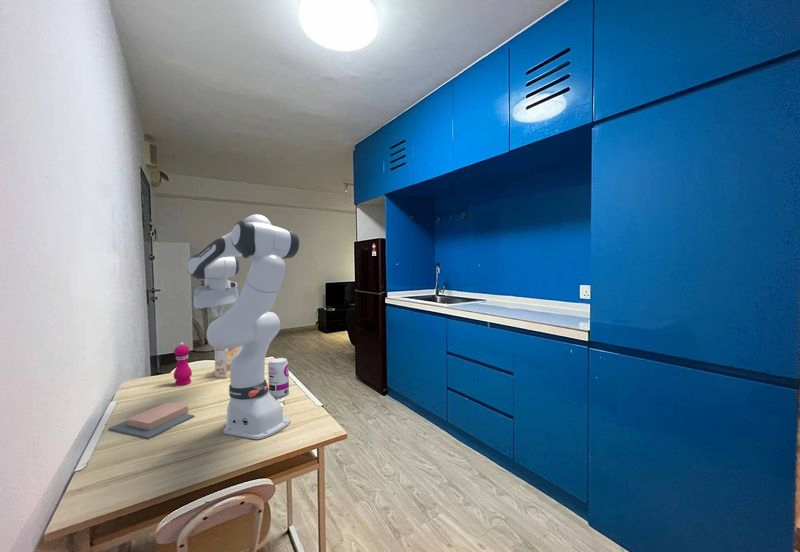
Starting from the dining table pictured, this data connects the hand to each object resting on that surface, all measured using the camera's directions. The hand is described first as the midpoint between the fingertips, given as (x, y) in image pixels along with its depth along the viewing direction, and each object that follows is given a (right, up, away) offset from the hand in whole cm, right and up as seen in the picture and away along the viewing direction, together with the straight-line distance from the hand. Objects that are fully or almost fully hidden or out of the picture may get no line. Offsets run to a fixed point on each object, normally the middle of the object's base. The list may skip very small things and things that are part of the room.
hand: (217, 315), depth 142 cm
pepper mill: (-23, -34, +12) cm, 43 cm away
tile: (-5, -33, -18) cm, 38 cm away
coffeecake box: (-8, -34, +26) cm, 43 cm away
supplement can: (+28, -34, -2) cm, 44 cm away
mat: (-8, -35, -27) cm, 45 cm away
